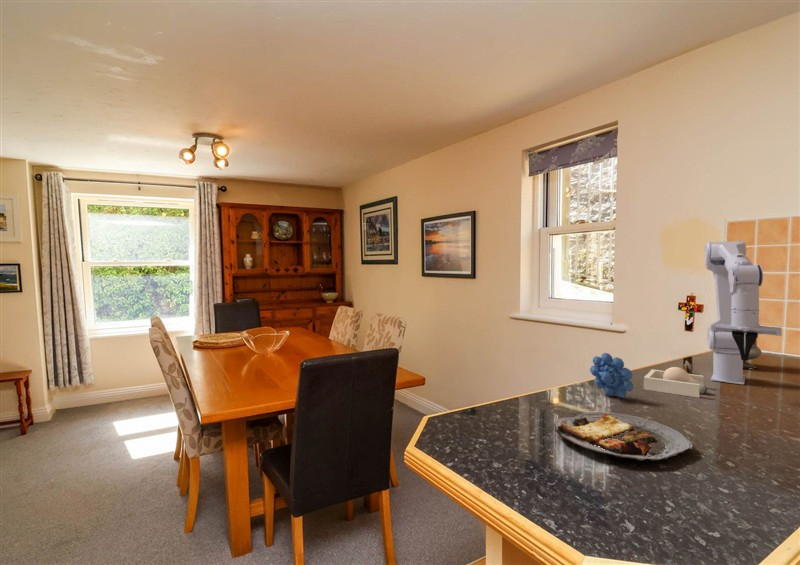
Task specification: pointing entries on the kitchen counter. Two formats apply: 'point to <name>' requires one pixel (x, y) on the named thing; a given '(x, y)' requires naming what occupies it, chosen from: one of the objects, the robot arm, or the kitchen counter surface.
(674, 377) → the light bulb
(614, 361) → the grapes
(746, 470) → the kitchen counter surface
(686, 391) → the socket cradle
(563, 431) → the food plate
